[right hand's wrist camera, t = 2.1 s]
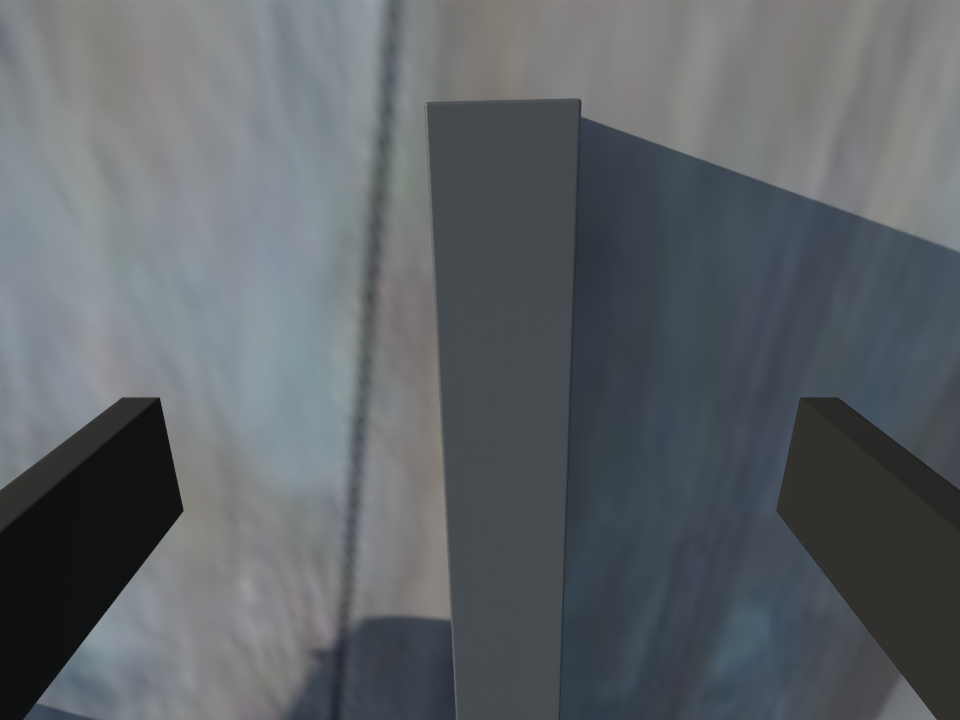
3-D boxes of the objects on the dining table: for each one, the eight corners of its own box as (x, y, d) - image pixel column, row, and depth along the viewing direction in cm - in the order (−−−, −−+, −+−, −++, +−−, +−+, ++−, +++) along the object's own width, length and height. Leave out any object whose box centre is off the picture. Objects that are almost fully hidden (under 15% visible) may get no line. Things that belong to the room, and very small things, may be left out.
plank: (439, 108, 24) (423, 102, 17) (553, 105, 24) (581, 98, 17) (474, 919, 43) (473, 1064, 37) (537, 918, 43) (547, 1063, 37)
